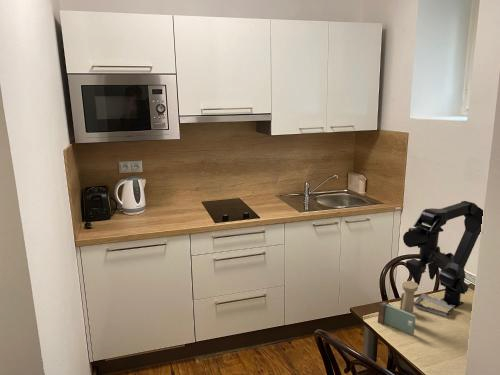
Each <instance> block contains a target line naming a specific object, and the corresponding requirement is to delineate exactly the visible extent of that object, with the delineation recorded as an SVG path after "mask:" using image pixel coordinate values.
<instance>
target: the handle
mask: <svg viewBox="0 0 500 375" xmlns="http://www.w3.org/2000/svg"><path fill="white" fill-rule="evenodd" d="M401 285H402V286H401V288H402V290H403V291H404V292H403V293H404V298H403V304H402V310H403V311H406V312H408V313H411V314H413V315H414V309H415V307H414V302H415V293H416V292H418V289H419V288H418V287H419V286H418V284H417V283H415V281H412V280H406V281H403V283H402V284H401Z"/></svg>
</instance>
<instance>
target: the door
mask: <svg viewBox="0 0 500 375" xmlns="http://www.w3.org/2000/svg"><path fill="white" fill-rule="evenodd" d="M382 304H384V305H386V306H385V317H384V324H387V325H389V326H391V327H393V328H396V329H398V330H400V331H402V332H405V333H407V334H409V335H411V336H412V335H414V333H415V328H416V327H415V325H416V318H417V316H416V315H415V314H414V313H413V314H411V313H408V312H406V311H403V310H401V309H400V308H399V307H398V308H397V307H395V306H393V305H391V304H388V303H387V302H382Z"/></svg>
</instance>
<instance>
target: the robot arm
mask: <svg viewBox="0 0 500 375" xmlns="http://www.w3.org/2000/svg"><path fill="white" fill-rule="evenodd" d="M483 210H484V209H482V208H481V207H479V205H477V204H476V203H474V202H471V201H468V200H462V201H461V202H459V203H456V204H452V205H448V206H446V207H442V208H425V209H423V210H422V212H421V213H420V215H419V216H418V218H417V219H416V221H415V223H414V224H413V227H410V228H408V230H407V231H405V233H404V234H403V235H402V240H403V244H404V245H405V246H406V247H408V248H415V247H417V248H418V249H419V253H418V254H416V258H417V259H416V258H410V259H408V260H406V261H405V264H404V267H405V268H406V269H407V270H409V272H410V274H411V276H412V278H413V282H415V283H417V284H418V287H419V286H420V283H421V281H422V280H421V279H422V276H423V274H424V273H427V272H426V271H427V270H428V275H429V279H430V280H434V278H435V277H436V275H437V273H438V271H439V269H440V271H439V273H438V274H439V275H438V279H439V285H440V286H442V287H444V294H443V298H440V300H443V301H445V302H447V304H448V305H453V306H454V305H455V306H454V309H456V308H458V307H460V306H462V305H464V303H465V302H463V301H462V300H461V298H462V297H461V296H462V295H465V294H466V293H467V292H468V290H469V286H468V285H467V283H466V282H465V279H466V272H465V267H466V264H467V263H468V260H469V258H470V256H471V254H472V251H473V249H474V247H475V244H476V243H477V240H478V238H479V235H481V234H480V232H481V224H482V216H483ZM462 216H463V217H464V221H463V223H464V224H463V225H464V228H465V229H464V231H463V234H462V237H461V238H460V241H459V244H458V245H457V248H456V250H455V252H454V254H453V252H448V253H445V252H441V247H440V246H438V245H439V238H440V237H439V235H440V233H442V232H444V229H443V228H442V227H443V226H445V225H447V222H448V221H449V220H450V221H451V220H453V219H456V218H458V217H462ZM426 269H427V270H426Z"/></svg>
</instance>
